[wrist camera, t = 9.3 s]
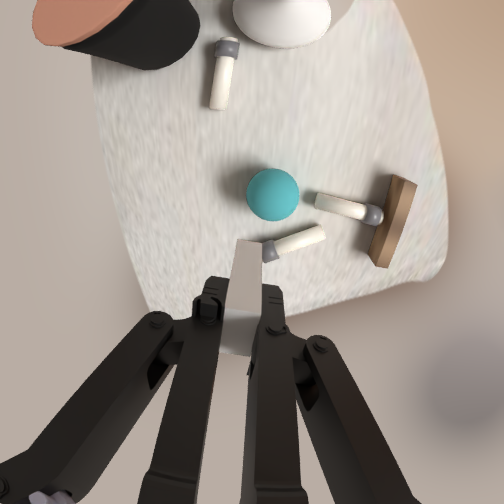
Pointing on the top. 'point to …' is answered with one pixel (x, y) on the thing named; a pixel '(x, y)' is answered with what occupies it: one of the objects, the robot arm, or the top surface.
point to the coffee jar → (120, 29)
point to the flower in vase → (282, 21)
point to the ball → (272, 194)
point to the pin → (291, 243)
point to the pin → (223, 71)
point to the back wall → (392, 221)
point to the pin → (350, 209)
